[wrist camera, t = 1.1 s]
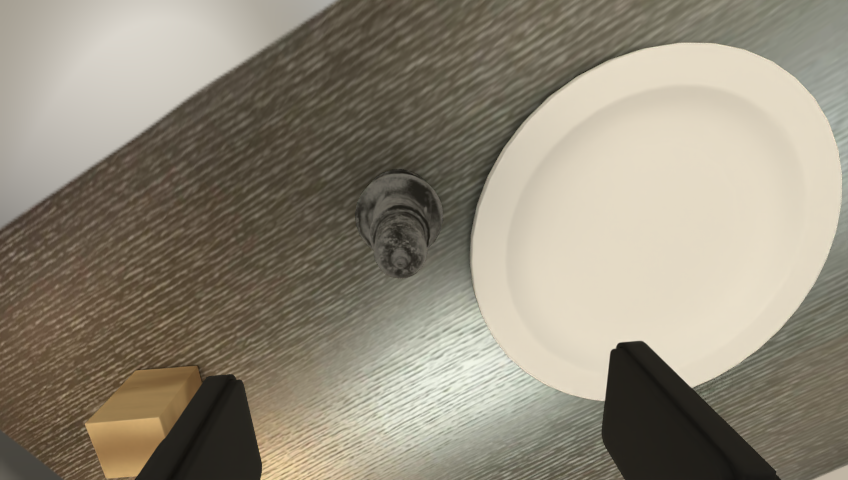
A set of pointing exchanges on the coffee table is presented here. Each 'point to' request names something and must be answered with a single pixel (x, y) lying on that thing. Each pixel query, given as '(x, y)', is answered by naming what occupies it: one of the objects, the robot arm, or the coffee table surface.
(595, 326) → the plate
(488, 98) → the coffee table surface
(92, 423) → the maple block
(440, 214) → the grey chess bishop
